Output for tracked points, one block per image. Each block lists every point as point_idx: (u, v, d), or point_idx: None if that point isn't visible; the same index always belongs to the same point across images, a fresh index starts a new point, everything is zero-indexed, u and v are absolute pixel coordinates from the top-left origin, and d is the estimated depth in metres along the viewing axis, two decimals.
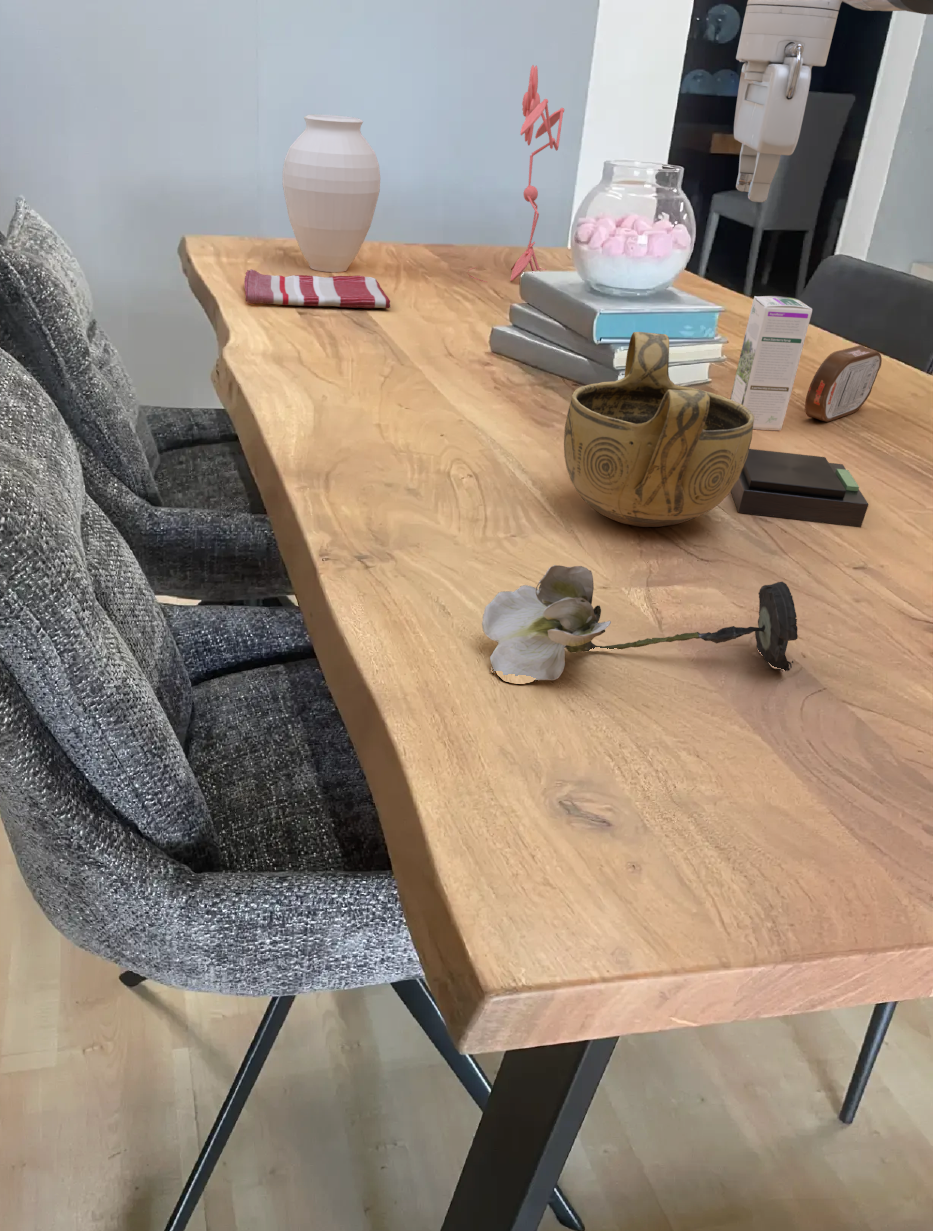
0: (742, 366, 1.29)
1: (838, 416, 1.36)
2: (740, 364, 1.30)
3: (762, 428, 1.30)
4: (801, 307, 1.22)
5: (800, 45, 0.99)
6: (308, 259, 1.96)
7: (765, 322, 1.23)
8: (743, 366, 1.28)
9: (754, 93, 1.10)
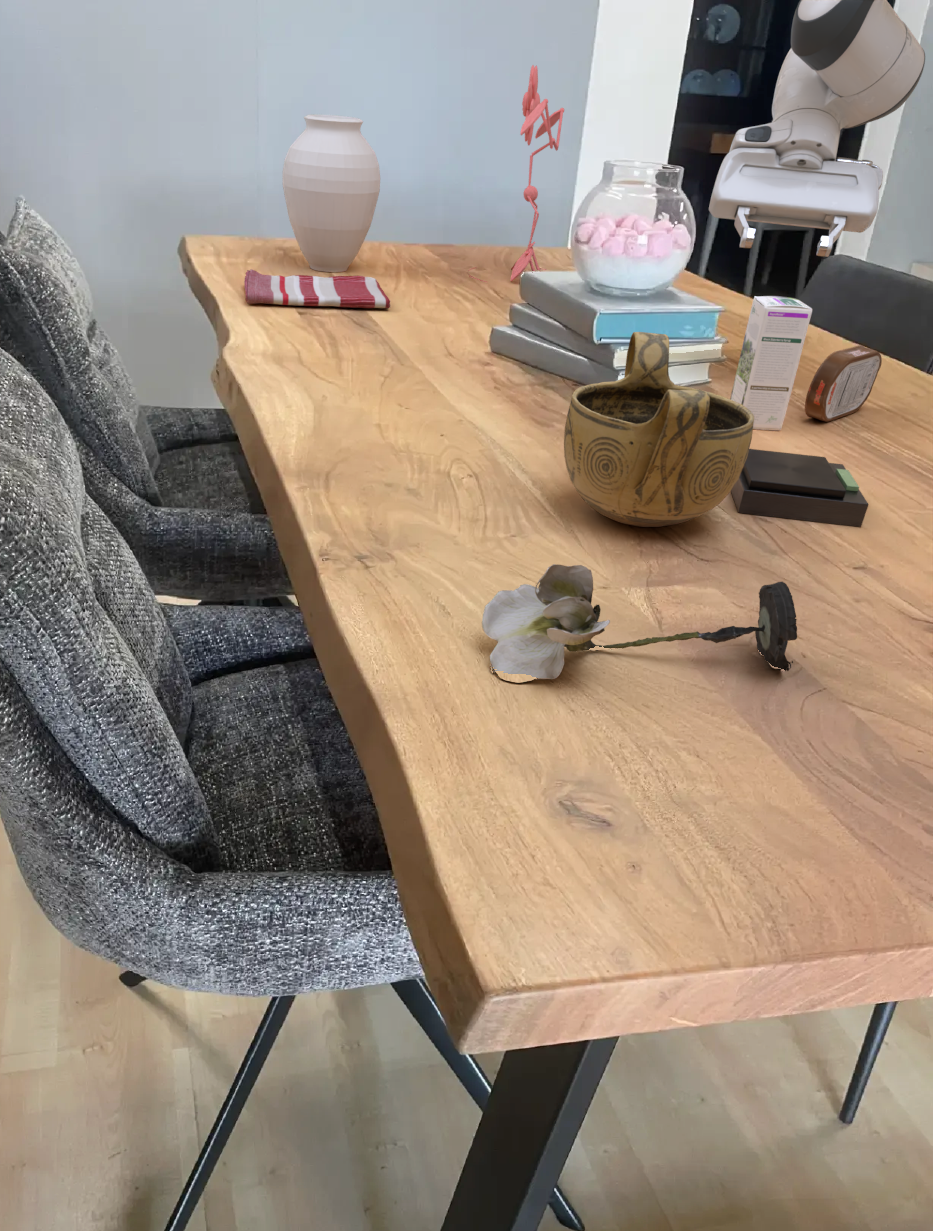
0: (742, 366, 1.29)
1: (838, 416, 1.36)
2: (740, 364, 1.30)
3: (762, 428, 1.30)
4: (801, 307, 1.22)
5: None
6: (308, 259, 1.96)
7: (765, 322, 1.23)
8: (743, 366, 1.28)
9: (780, 174, 1.33)
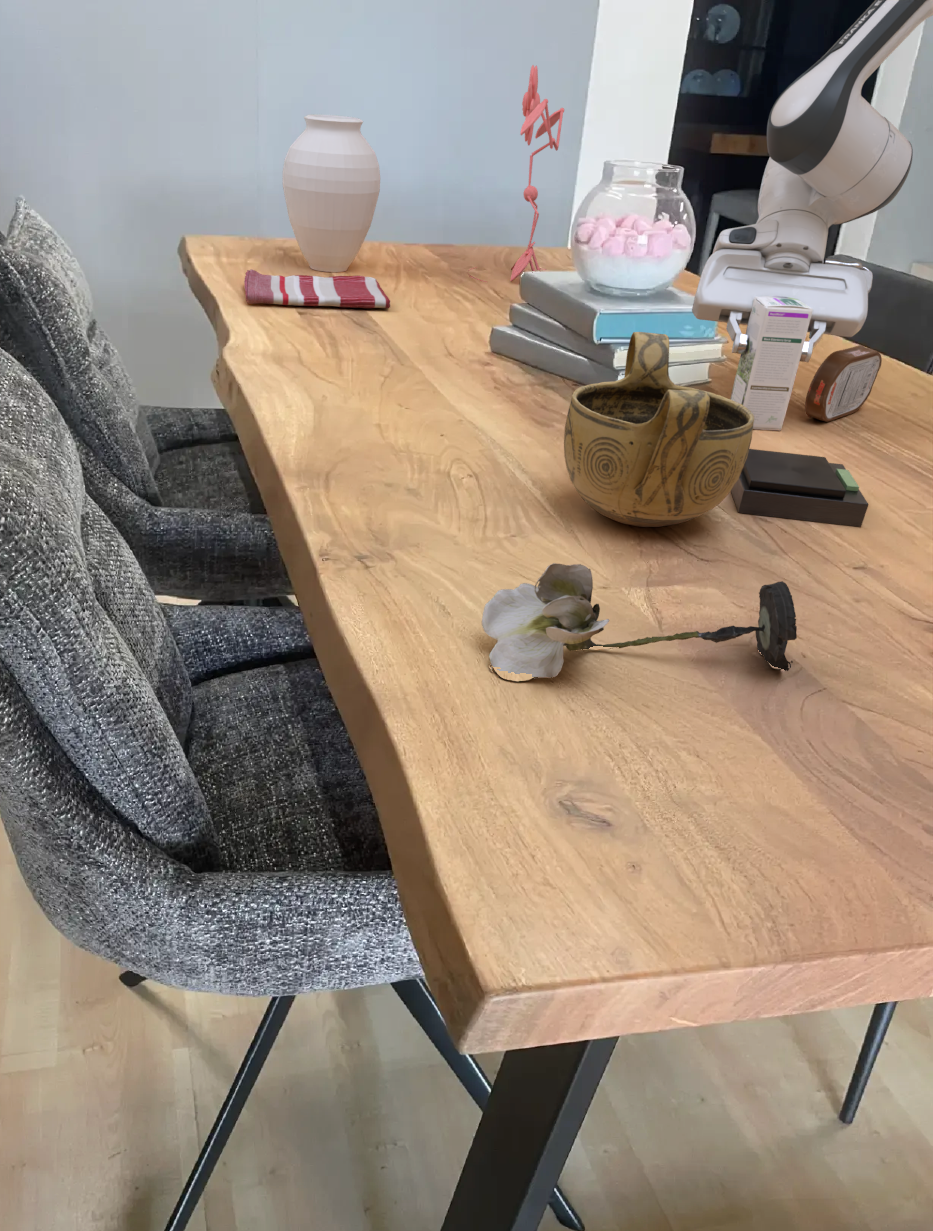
0: (742, 366, 1.29)
1: (838, 416, 1.36)
2: (740, 364, 1.30)
3: (762, 428, 1.30)
4: (801, 307, 1.22)
5: None
6: (308, 259, 1.96)
7: (765, 322, 1.23)
8: (743, 366, 1.28)
9: (765, 277, 1.28)
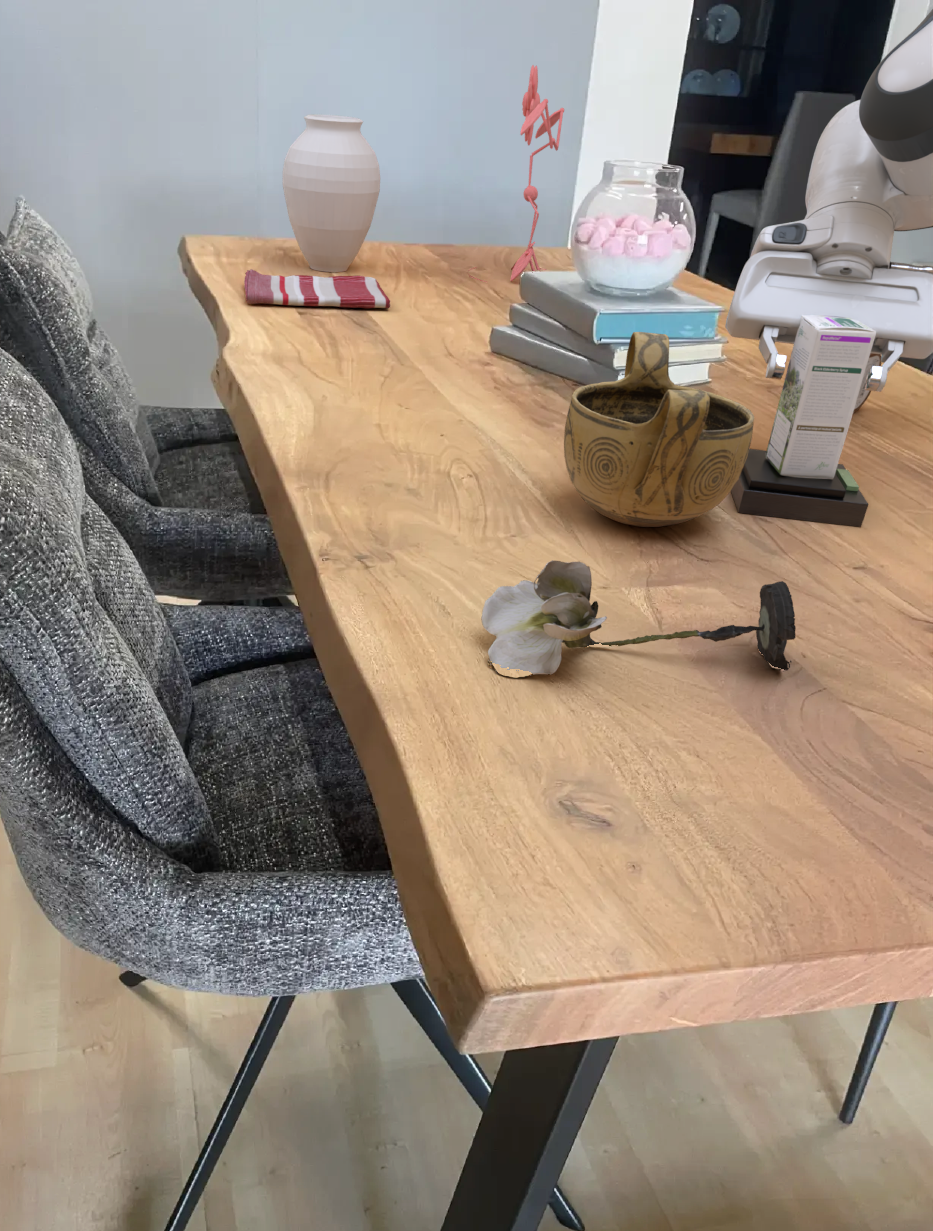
0: (786, 401, 1.05)
1: None
2: (783, 398, 1.06)
3: (810, 476, 1.06)
4: (862, 329, 0.98)
5: None
6: (308, 259, 1.96)
7: (817, 348, 0.99)
8: (787, 400, 1.04)
9: (817, 285, 1.03)
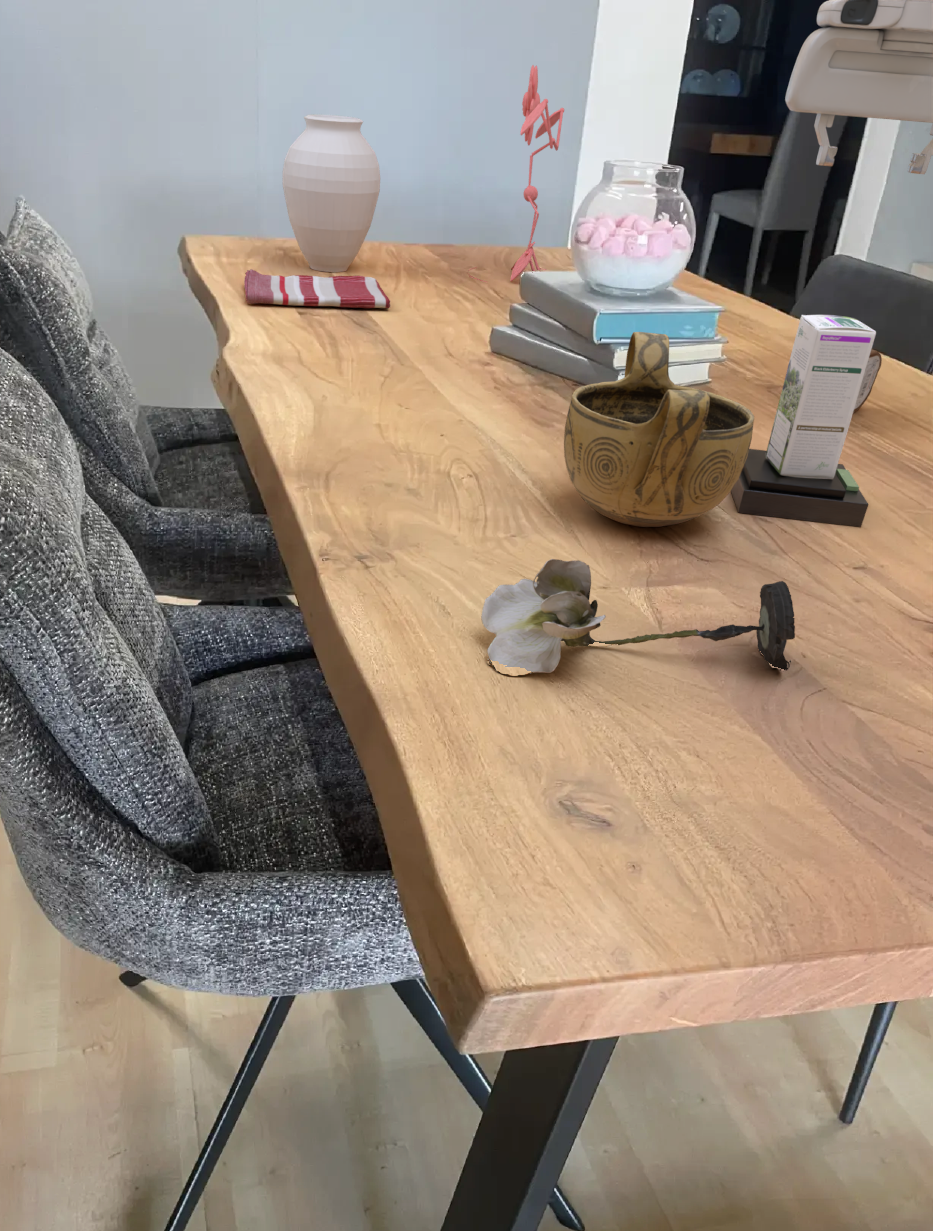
0: (786, 401, 1.05)
1: None
2: (783, 398, 1.06)
3: (810, 476, 1.06)
4: (862, 329, 0.98)
5: None
6: (308, 259, 1.96)
7: (817, 348, 0.99)
8: (787, 400, 1.04)
9: (880, 63, 1.05)
